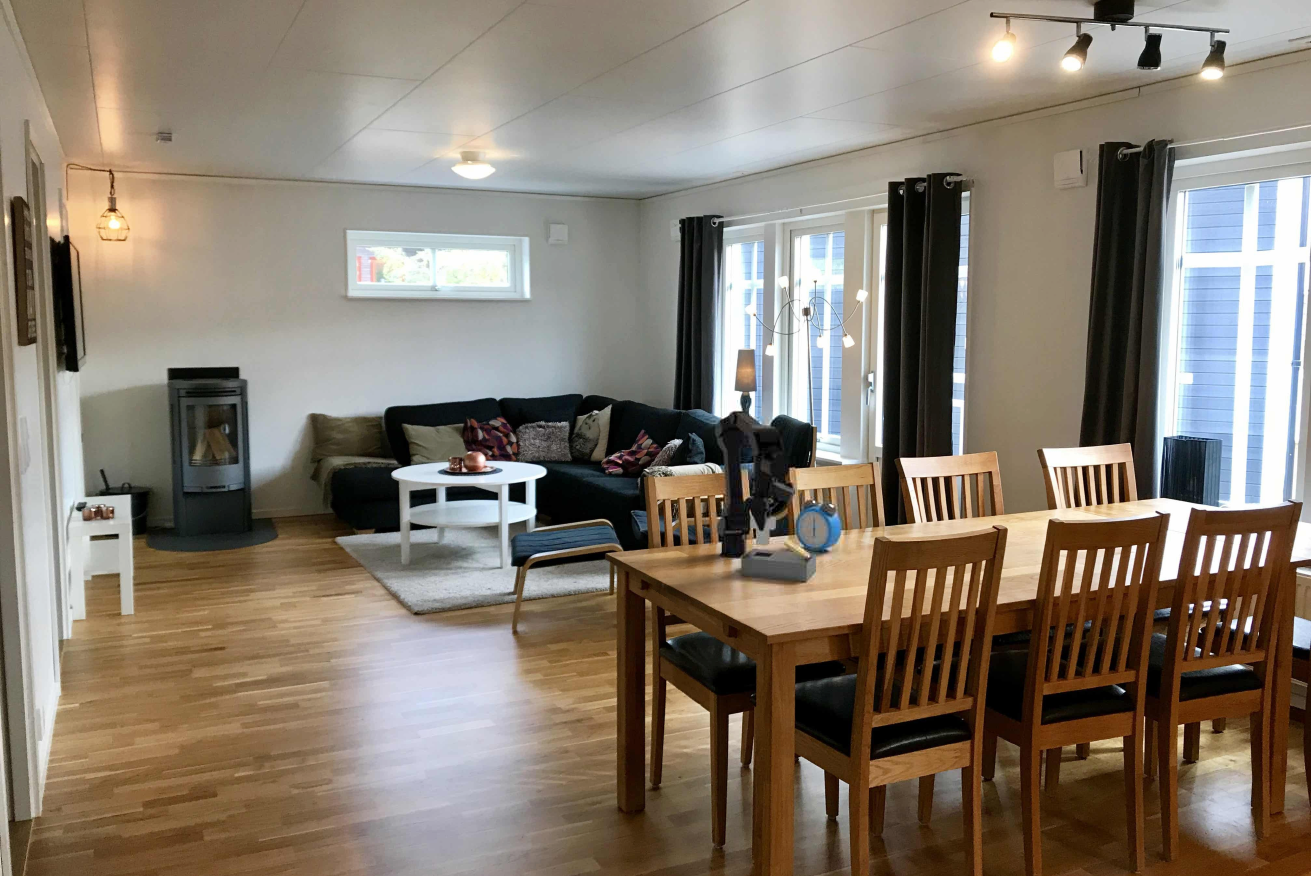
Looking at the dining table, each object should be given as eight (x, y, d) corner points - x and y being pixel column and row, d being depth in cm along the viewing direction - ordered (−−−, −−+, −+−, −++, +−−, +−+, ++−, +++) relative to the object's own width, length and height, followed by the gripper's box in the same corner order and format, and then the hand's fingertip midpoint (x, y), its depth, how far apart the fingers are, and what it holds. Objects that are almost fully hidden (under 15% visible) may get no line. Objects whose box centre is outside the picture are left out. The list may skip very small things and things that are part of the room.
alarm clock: (793, 548, 315) (795, 499, 313) (805, 544, 319) (806, 496, 318) (830, 554, 306) (831, 505, 304) (841, 551, 311) (843, 502, 309)
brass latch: (783, 544, 280) (785, 542, 280) (787, 541, 284) (788, 539, 284) (806, 560, 278) (808, 558, 278) (810, 557, 282) (812, 554, 282)
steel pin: (749, 544, 284) (750, 517, 283) (752, 542, 287) (753, 515, 286) (772, 546, 282) (773, 519, 281) (775, 543, 284) (775, 517, 283)
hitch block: (741, 575, 281) (741, 557, 280) (752, 565, 292) (753, 548, 292) (806, 582, 275) (807, 563, 274) (815, 571, 286) (816, 554, 285)
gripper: (784, 480, 270) (783, 538, 272) (800, 470, 288) (799, 525, 289) (743, 477, 274) (742, 535, 276) (761, 468, 292) (760, 522, 293)
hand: (762, 529), depth 284 cm, fingers closed on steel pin, 3 cm apart
